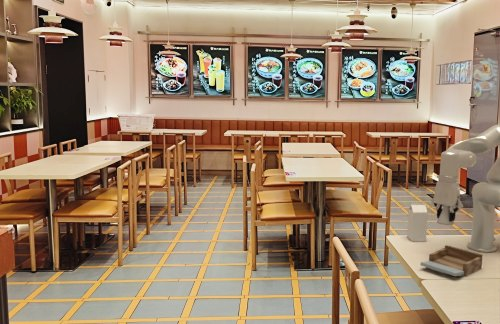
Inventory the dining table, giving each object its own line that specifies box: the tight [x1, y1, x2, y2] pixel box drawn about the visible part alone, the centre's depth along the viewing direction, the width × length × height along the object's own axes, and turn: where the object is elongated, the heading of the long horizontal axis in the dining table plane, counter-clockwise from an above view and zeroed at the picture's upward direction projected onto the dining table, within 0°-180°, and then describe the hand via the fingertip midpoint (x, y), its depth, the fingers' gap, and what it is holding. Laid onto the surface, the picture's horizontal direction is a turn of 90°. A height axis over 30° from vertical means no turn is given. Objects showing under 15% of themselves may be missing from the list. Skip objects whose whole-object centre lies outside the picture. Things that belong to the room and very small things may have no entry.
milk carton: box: [406, 202, 428, 242], centre depth 235 cm, size 7×7×19 cm
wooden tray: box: [428, 244, 483, 277], centre depth 199 cm, size 14×16×6 cm
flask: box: [436, 205, 455, 226], centre depth 208 cm, size 7×7×10 cm
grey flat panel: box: [420, 260, 464, 277], centre depth 192 cm, size 2×15×7 cm
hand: (445, 219), depth 209 cm, fingers closed on flask, 5 cm apart
